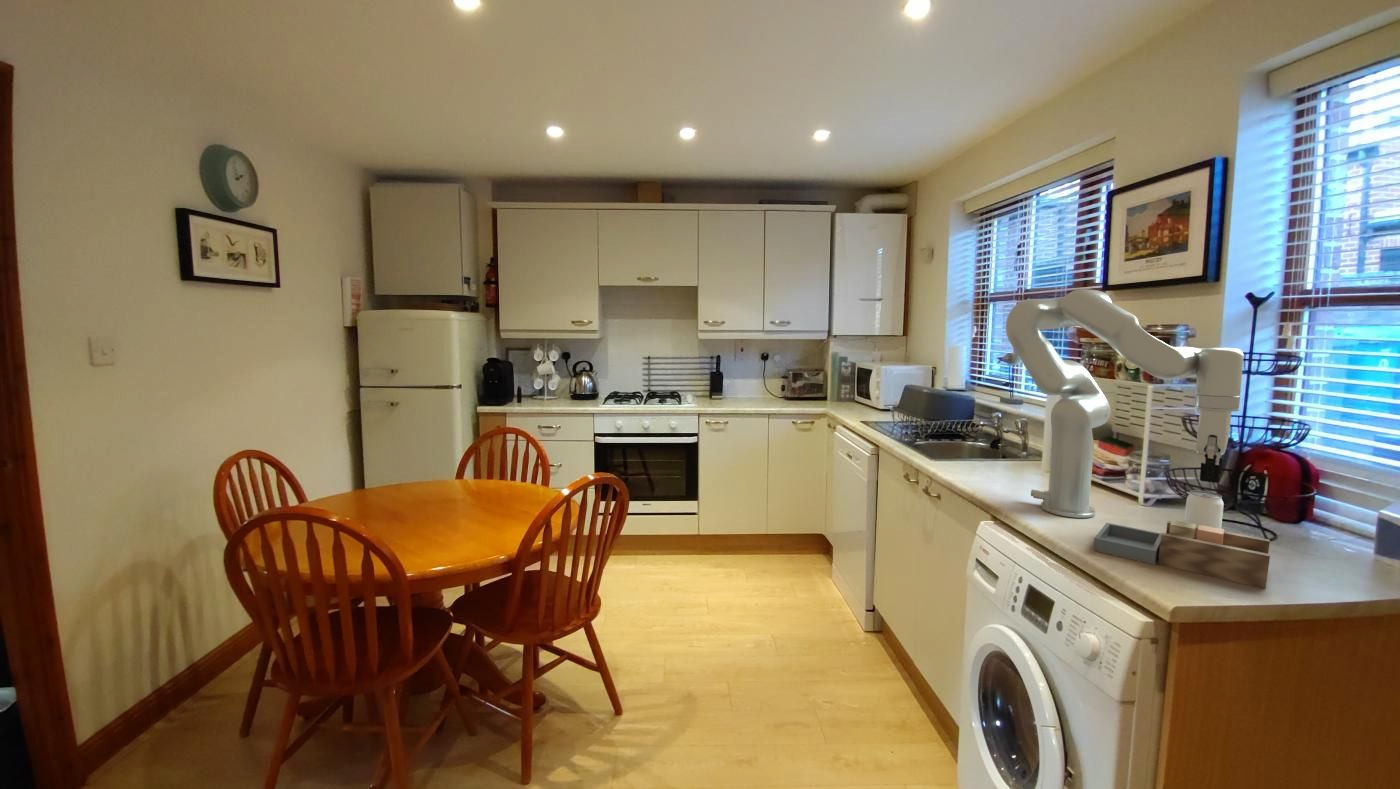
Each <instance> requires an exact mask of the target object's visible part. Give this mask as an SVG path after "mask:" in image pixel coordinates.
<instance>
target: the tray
mask: <svg viewBox="0 0 1400 789" xmlns="http://www.w3.org/2000/svg"><path fill="white" fill-rule="evenodd" d="M1162 533H1163V532H1156V531H1152V530H1151V531H1150V530H1146V529H1140V528H1136V527H1130V526H1126V525H1119V524H1116V523H1110V522H1106V523H1105V524H1104V525H1103V527H1102V528H1100V531H1099V532H1097V534H1096V535H1095V537H1094V540H1093V550H1095V551H1094V552H1097V551H1100V552H1099V553H1101V552H1104V553H1103V554H1105V553H1108V554H1107V555H1110V554H1112V555H1111V556H1114V555H1116V556H1115V557H1118V556H1121V557H1120V558H1123V557H1125V558H1124V559H1127V558H1130V559H1129V560H1132V559H1135V560H1134V561H1136V560H1139V561H1138V562H1140V561H1142V563H1145V562H1147V563H1146V564H1149V563H1151V564H1150V565H1153V564H1155V565H1156V562H1157V561H1158V560H1159V552H1160V542H1161V534H1162Z"/></svg>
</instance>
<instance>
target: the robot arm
mask: <svg viewBox="0 0 1400 789" xmlns="http://www.w3.org/2000/svg"><path fill="white" fill-rule="evenodd" d="M1075 326H1078V327H1081V328H1082V329H1084V330H1085V331H1087V332H1089V333H1091V334H1092V335H1094V336H1095V337H1097V338H1099V339H1101V340H1102V341H1104V342H1105V343H1107V344H1108V345H1109V346H1110V347H1111V348H1112V349H1113V350H1114V351H1115V352H1117V353H1118V354H1119V355H1120V356H1121V357H1122V358H1124V359H1125V360H1126V361H1128V362H1130V363H1131V364H1132V365H1134V366H1136V367H1138V368H1139V369H1140V370H1142V371H1143V372H1146V373H1147V374H1149V375H1151V376H1152V377H1154V378H1157V379H1161V380H1165V381H1171V380H1172V381H1173V380H1180V379H1186V378H1187V379H1189V378H1196V384H1195V397H1194V409H1196V410H1200V411H1199V416H1198V423H1197V433H1196V434H1197V435H1196V443H1195V446H1196V447H1195V452H1196V454H1200V453H1201V452H1203V454H1202V462H1200V471H1199V472H1200V473H1199V480H1200V481H1201V482H1206V483H1214V484H1215V483H1216V484H1219V482H1220V475H1222V470H1223V460H1224V459H1223V457H1222V455H1225V452H1226V449H1227V447H1228V441H1229V437H1230V428H1231V419H1232V412H1239V411H1240V402H1241V401H1240V400H1241V391H1242V390H1241V389H1242V380H1243V378H1242V377H1243V368H1244V367H1243V365H1244V353H1243V351H1242V350H1241V349H1239V348H1235V347H1233V348H1232V347H1208V348H1207V347H1206V348H1201V347H1200V348H1199V347H1192V346H1171V345H1169V344H1167V343H1165V342H1164V341H1163V340H1160V339H1158V338H1156V337H1155V336H1153V335H1151V333H1148V332H1147V330H1144V329H1143V327H1142V326H1141V325H1140V323H1139V319H1138V318H1137V316H1136V315H1135V314H1132V312H1129V311H1127V310H1125V309H1123V308H1122V307H1120V306H1119V305H1116V304H1114V303H1113V302H1112V299H1111V297H1110V296H1109V295H1108V294H1107V293H1106V292H1104V291H1100V290H1098V289H1089V288H1088V289H1087V288H1085V289H1084V288H1080V289H1075V290H1073V291H1071V292H1069V293H1067V294H1066V295H1065V296H1063V297H1059V298H1058V297H1057V298H1053V299H1042V298H1032V299H1031V298H1030V299H1025V300H1022V301H1019V303H1016V304H1015V305H1014V306H1013V307H1012V308H1011V310H1010V312H1009V313H1008V315H1007V318H1006V322H1005V332H1006V336H1007V340H1008V341H1009V343H1010V345H1011V347H1012V348H1013V350H1014V351H1015V352H1016V354H1017V356H1018V357H1019V359H1020V360H1021V363H1022V364H1023V366H1024V367H1025V369H1026V371H1027V372H1028V374H1029V376H1030V377H1031V379H1032V380H1033V382H1034V384H1035V386H1036V387H1037V388H1038V390H1039V391H1040V392H1041V393H1043V394H1044V395H1045V396H1046V395H1047V396H1060V397H1061V399H1059V400H1058V401H1057V402H1056V403H1055V404H1054V405H1053V406H1052V408H1051V412H1050V424H1051V425H1050V426H1051V454H1050V455H1051V456H1050V464H1049V468H1050V469H1049V480H1048V490H1044V491H1040V490H1037V489H1031V492H1030V496H1031V497H1033V498H1034V499H1038V500H1042V502H1041V503H1040V507H1041V509H1042V510H1043V511H1045V512H1047V513H1050V514H1053V515H1057V516H1061V517H1062V516H1063V517H1065V518H1066V517H1068V518H1077V519H1085V518H1093V517H1094V516H1096V512H1097V511H1096V509H1094V508H1093V507H1092V506H1090V496H1091V488H1092V487H1091V485H1092V477H1093V476H1092V474H1093V464H1094V462H1093V460H1094V449H1095V448H1094V447H1095V446H1094V436H1093V429H1095V428H1099V427H1101V426H1102V425H1103V426H1104V424H1106V423H1107V422H1108V421H1109V420H1110V416H1111V413H1112V411H1111V406H1110V403H1109V400H1108V399H1107V397H1106V395H1104V393H1103V391H1102V390H1101V388H1100V387H1099V384H1097V382H1096V381H1095V379H1094V378H1093V376H1092V375H1091V373H1090V372H1089V371H1088V370H1087V368H1086V366H1085V367H1084V366H1083V365H1082V364H1081V363H1079V362H1077V361H1075V360H1072V359H1071V360H1070V359H1063V358H1062V357H1061V356H1060V354H1059V353H1058V352H1057V351H1056V349H1055V347H1054V346H1053V344H1052V342H1050V340H1049V339H1048V338H1047V337H1045V335H1044V334H1043V333H1042V332H1041V330H1044V331H1045V330H1046V331H1047V330H1056V329H1057V330H1058V329H1062V328H1063V329H1064V328H1068V327H1075Z"/></svg>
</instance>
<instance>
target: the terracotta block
mask: <svg viewBox="0 0 1400 789" xmlns="http://www.w3.org/2000/svg"><path fill="white" fill-rule="evenodd" d="M1224 531H1225V529H1224V528H1221V529H1220V528H1214V527H1209V526H1204V525H1199V527H1198V531H1197V540H1201V541H1206V542H1211V543H1216V544H1221V545H1222V544H1223V535H1224Z"/></svg>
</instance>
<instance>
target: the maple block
mask: <svg viewBox="0 0 1400 789" xmlns="http://www.w3.org/2000/svg"><path fill="white" fill-rule="evenodd" d="M1171 521H1172V522H1171V524H1170V532H1169V534H1170V535H1176V536H1181V537H1186V538H1191V539H1195V530H1196V524H1193V523H1187V522H1184V521H1181V520H1176V519H1172V520H1171Z"/></svg>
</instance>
